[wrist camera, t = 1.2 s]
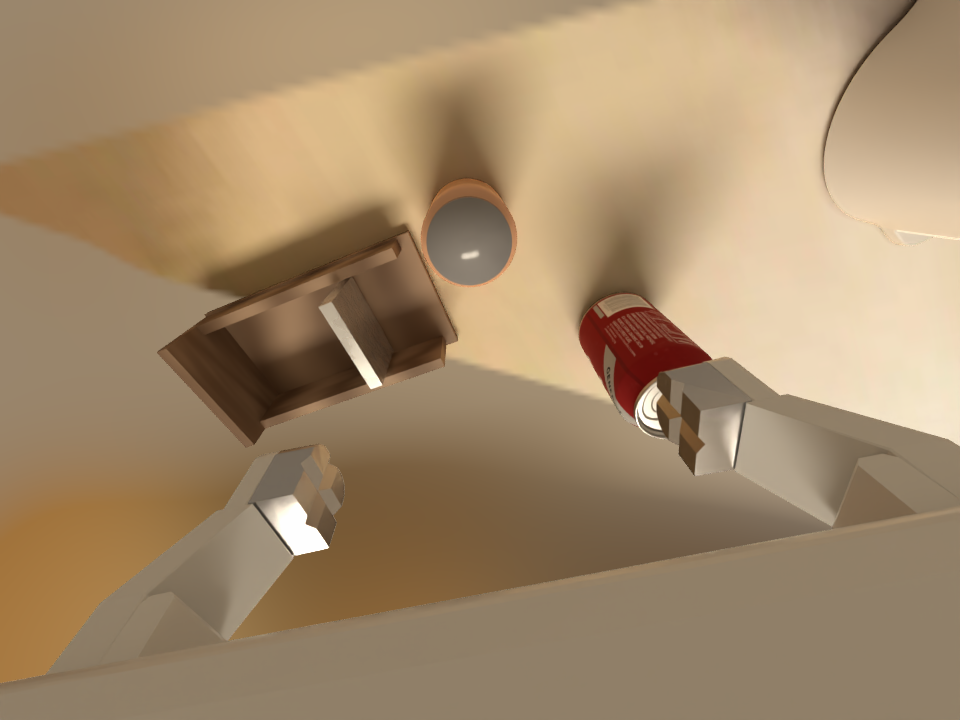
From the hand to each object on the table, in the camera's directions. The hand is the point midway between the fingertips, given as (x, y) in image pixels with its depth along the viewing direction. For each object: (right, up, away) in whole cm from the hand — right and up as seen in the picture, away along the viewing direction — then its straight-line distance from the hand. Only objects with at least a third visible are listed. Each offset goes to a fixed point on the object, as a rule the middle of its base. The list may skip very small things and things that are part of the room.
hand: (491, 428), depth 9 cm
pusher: (-10, +5, +23) cm, 26 cm away
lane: (-13, +5, +24) cm, 28 cm away
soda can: (+12, +5, +25) cm, 28 cm away
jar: (-1, +12, +20) cm, 24 cm away
